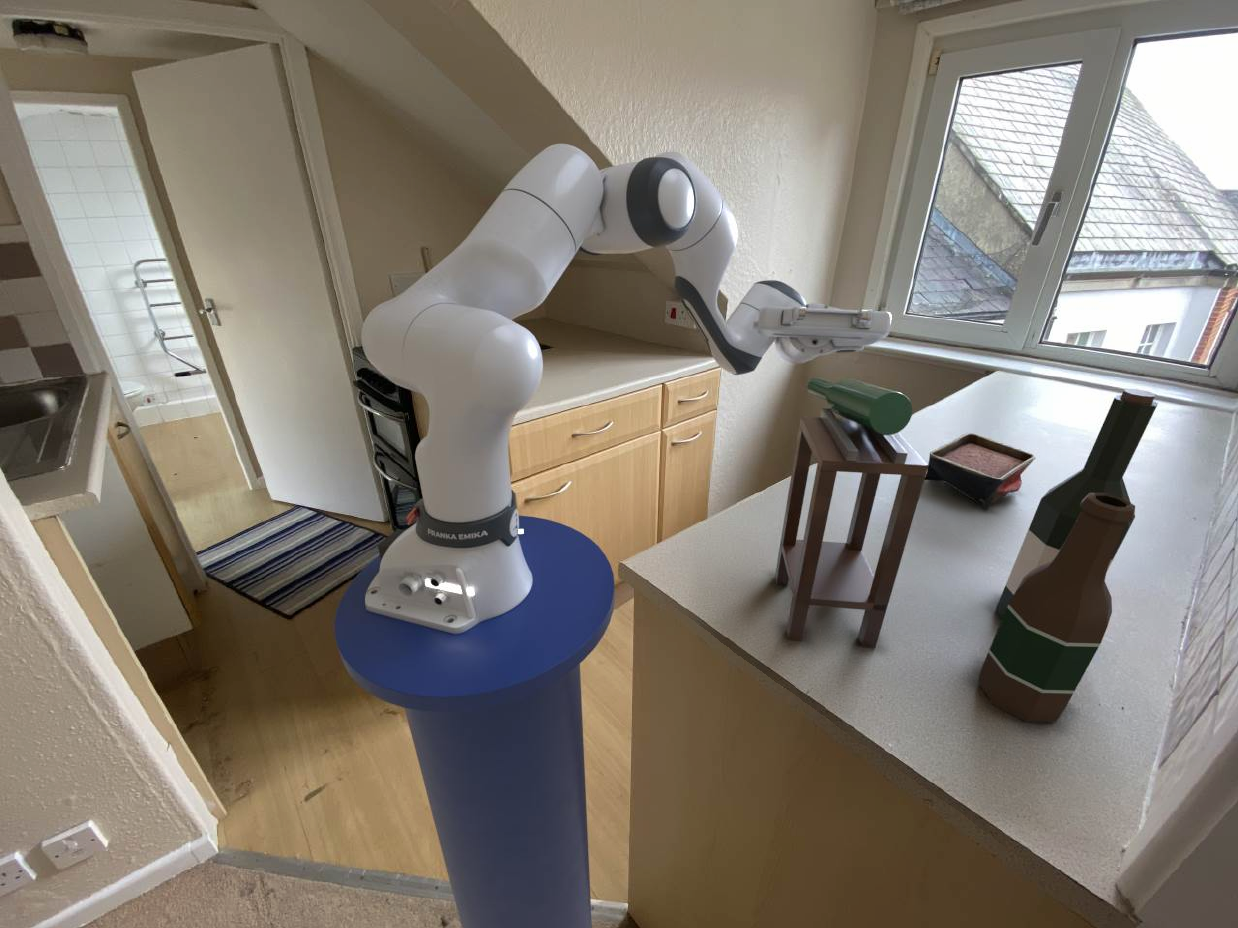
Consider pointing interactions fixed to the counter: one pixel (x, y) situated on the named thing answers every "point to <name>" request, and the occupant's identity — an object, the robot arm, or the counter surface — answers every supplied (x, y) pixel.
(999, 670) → the beer bottle
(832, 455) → the bottle rack
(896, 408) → the green bottle
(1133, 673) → the counter surface
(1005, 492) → the baking dish
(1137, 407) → the wine bottle
